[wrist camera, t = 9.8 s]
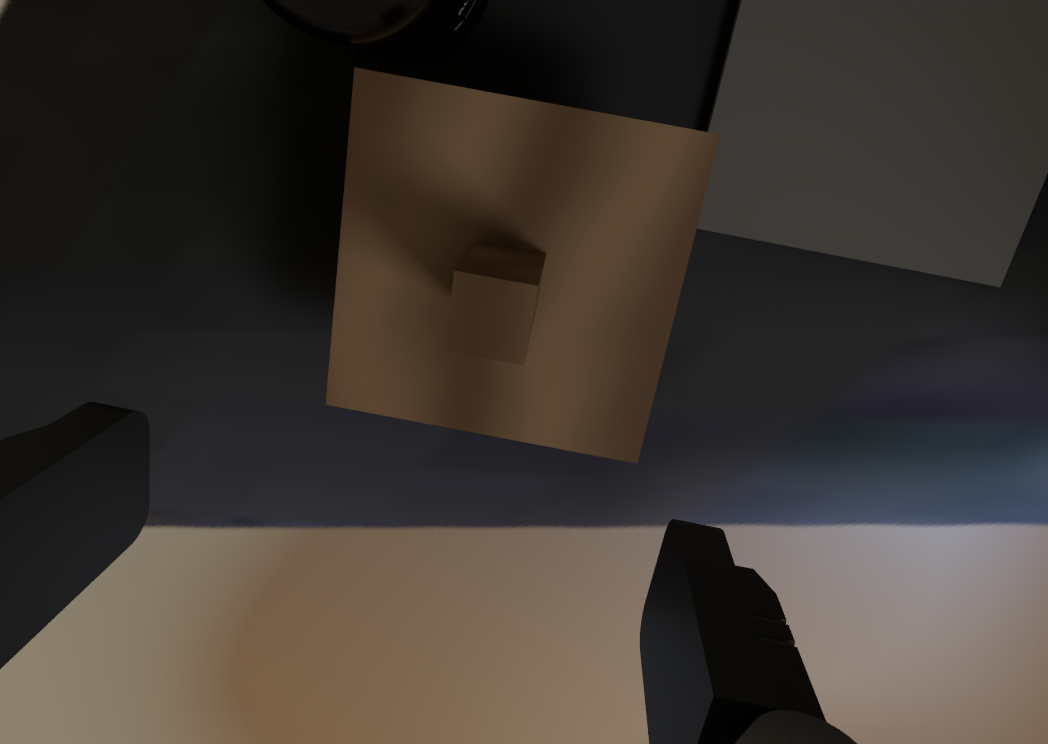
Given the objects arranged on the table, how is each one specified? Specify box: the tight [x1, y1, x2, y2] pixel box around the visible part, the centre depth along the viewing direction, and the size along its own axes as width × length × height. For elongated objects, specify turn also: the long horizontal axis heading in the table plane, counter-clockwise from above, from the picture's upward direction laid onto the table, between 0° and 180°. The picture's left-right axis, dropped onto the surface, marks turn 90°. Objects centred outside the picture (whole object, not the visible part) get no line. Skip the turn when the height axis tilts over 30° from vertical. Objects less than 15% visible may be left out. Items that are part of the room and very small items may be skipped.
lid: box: [326, 67, 720, 463], centre depth 24 cm, size 12×12×6 cm
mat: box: [697, 0, 1048, 287], centre depth 28 cm, size 13×13×1 cm
